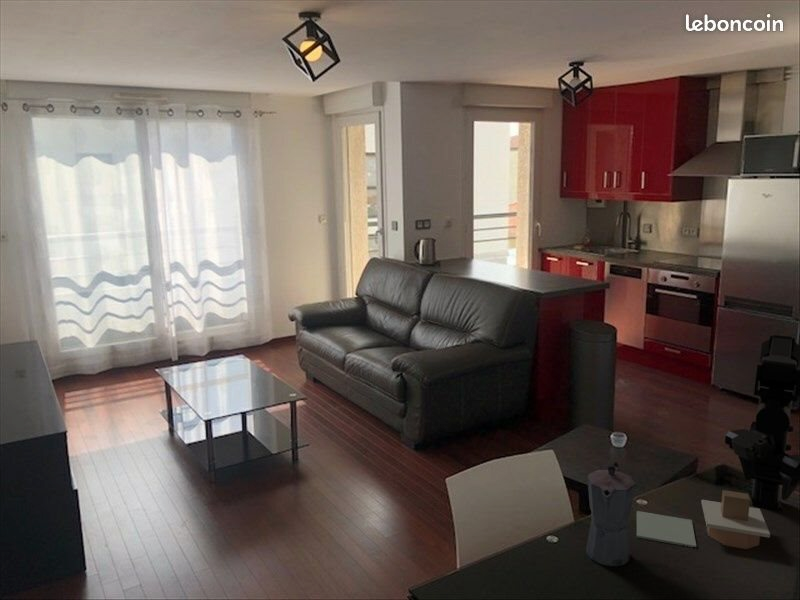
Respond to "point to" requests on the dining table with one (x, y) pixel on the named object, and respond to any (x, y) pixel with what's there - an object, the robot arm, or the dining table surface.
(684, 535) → the mat
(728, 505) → the cover
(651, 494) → the dining table surface
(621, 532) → the moka pot
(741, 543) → the bowl
